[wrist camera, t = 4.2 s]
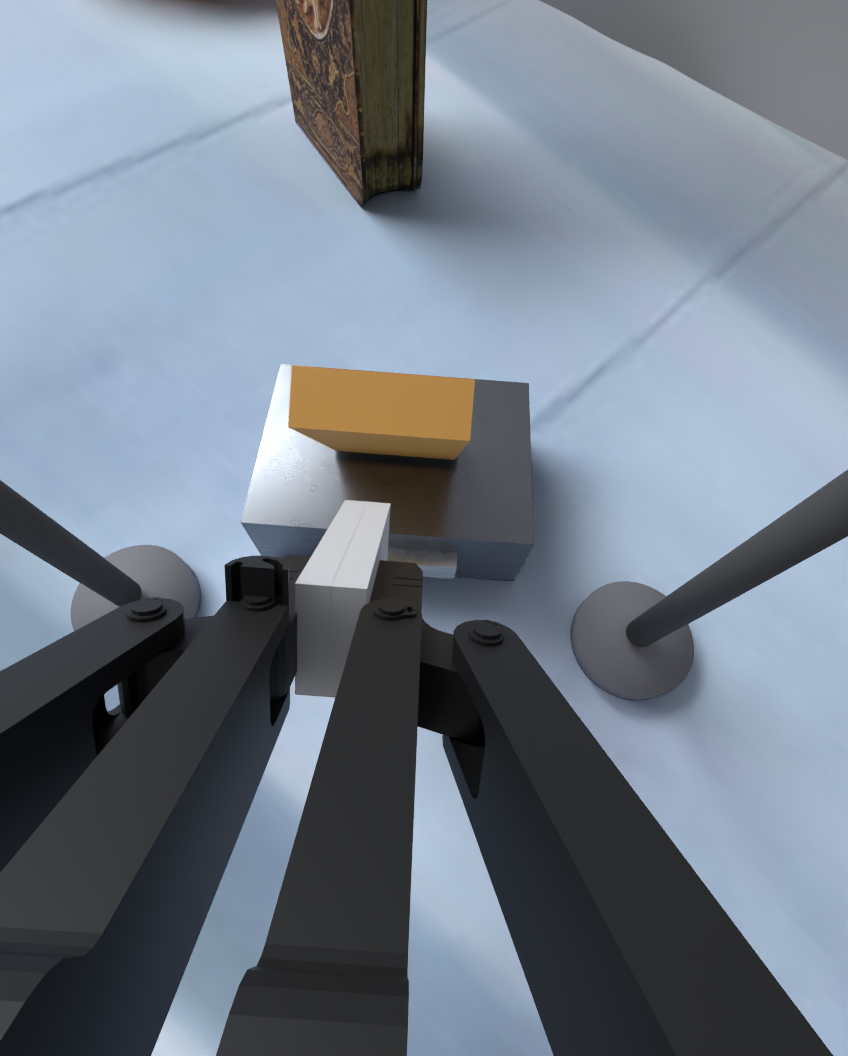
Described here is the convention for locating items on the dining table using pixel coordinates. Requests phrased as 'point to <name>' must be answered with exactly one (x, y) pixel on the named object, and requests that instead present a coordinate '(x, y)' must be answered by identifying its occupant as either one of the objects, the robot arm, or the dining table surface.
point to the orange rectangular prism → (382, 411)
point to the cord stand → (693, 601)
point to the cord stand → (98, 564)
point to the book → (359, 87)
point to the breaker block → (405, 490)
